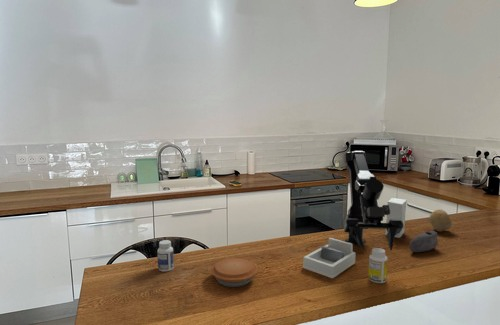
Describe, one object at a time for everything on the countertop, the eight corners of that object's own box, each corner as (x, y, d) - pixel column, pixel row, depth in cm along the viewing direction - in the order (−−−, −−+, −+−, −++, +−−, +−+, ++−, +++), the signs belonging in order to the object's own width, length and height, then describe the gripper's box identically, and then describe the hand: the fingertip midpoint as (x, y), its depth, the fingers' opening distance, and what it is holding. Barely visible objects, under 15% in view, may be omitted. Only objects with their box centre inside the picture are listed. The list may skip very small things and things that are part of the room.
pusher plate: (322, 256, 130) (323, 245, 129) (343, 263, 124) (344, 251, 123) (321, 257, 129) (321, 246, 128) (342, 264, 123) (342, 252, 123)
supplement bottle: (381, 275, 118) (382, 246, 116) (389, 283, 112) (391, 253, 111) (365, 276, 117) (366, 247, 116) (372, 284, 112) (374, 253, 110)
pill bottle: (168, 263, 127) (167, 238, 126) (176, 268, 123) (175, 242, 122) (155, 268, 123) (154, 242, 122) (163, 273, 120) (162, 246, 118)
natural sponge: (425, 227, 166) (426, 206, 165) (445, 227, 165) (446, 207, 163) (432, 233, 157) (433, 212, 156) (453, 234, 156) (455, 212, 154)
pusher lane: (327, 254, 135) (327, 236, 134) (355, 263, 127) (355, 244, 126) (303, 267, 123) (303, 248, 122) (332, 278, 116) (333, 258, 115)
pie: (202, 276, 118) (201, 262, 117) (240, 264, 126) (240, 251, 126) (226, 296, 105) (226, 280, 104) (267, 281, 114) (267, 266, 113)
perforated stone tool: (415, 256, 133) (416, 238, 132) (403, 251, 138) (404, 234, 137) (441, 249, 140) (442, 232, 138) (429, 245, 144) (430, 228, 143)
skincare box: (389, 230, 162) (391, 197, 160) (405, 233, 158) (407, 199, 156) (384, 235, 155) (386, 201, 153) (400, 238, 151) (402, 203, 149)
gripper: (346, 195, 119) (351, 238, 110) (403, 196, 117) (413, 239, 108) (341, 211, 128) (346, 252, 119) (394, 212, 126) (403, 254, 117)
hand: (376, 249), depth 115 cm, fingers open, 9 cm apart
